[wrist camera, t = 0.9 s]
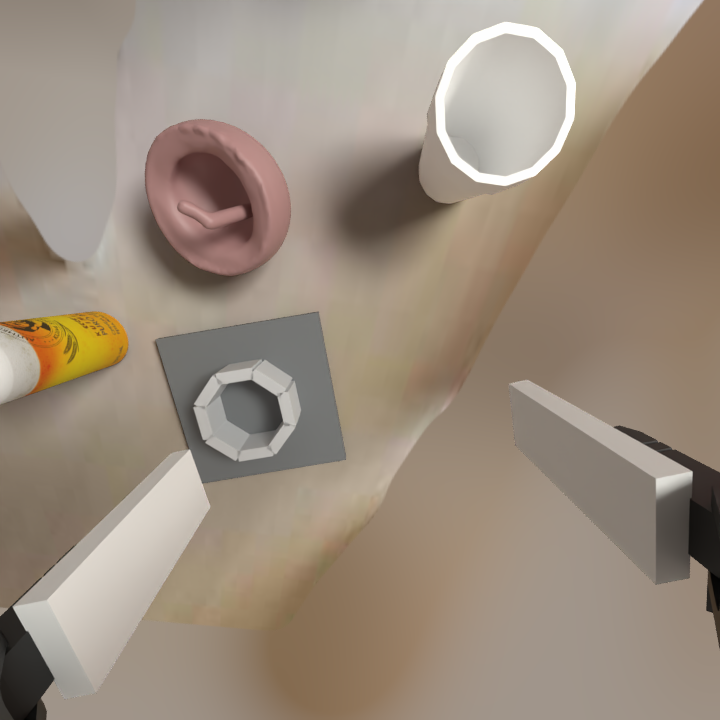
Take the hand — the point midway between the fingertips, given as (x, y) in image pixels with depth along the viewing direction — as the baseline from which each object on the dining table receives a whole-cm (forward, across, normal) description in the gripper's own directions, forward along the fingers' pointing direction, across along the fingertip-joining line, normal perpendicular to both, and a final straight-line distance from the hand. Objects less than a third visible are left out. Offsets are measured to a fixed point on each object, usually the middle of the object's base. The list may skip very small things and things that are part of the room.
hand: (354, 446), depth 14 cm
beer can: (+26, -27, +6) cm, 38 cm away
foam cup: (+26, +14, +15) cm, 33 cm away
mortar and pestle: (+26, -8, +15) cm, 31 cm away
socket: (+26, -12, -5) cm, 29 cm away
